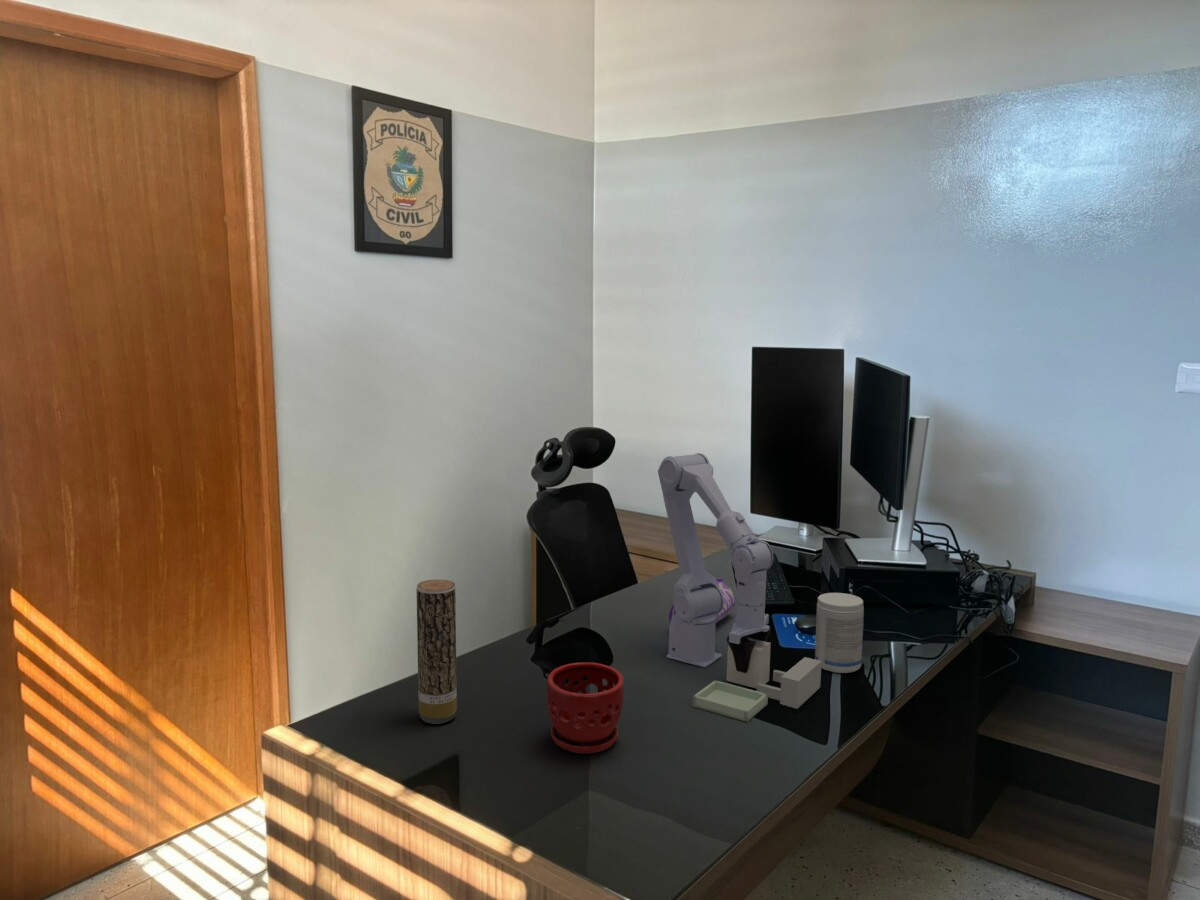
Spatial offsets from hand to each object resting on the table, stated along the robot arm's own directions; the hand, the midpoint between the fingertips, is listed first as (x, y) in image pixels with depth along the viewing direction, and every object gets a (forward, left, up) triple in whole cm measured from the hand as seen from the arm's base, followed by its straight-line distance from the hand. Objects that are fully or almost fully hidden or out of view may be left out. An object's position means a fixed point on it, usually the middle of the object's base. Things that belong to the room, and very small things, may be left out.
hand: (747, 667), depth 177 cm
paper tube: (-39, -48, -3) cm, 62 cm away
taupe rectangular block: (0, 0, -3) cm, 3 cm away
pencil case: (-23, +24, -3) cm, 33 cm away
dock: (+9, 0, -3) cm, 9 cm away
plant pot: (-12, -40, -3) cm, 42 cm away
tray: (+2, -12, -3) cm, 13 cm away
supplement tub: (+12, +19, -3) cm, 23 cm away
